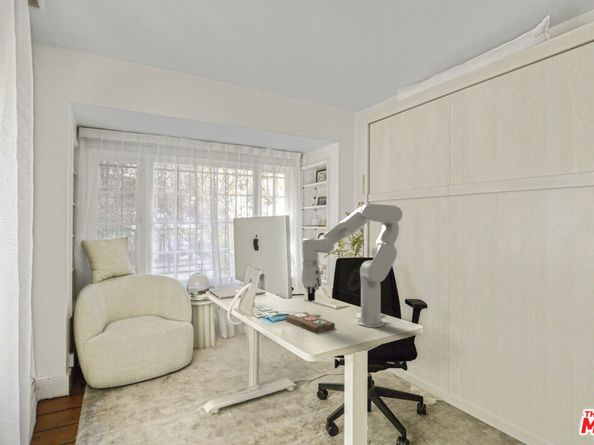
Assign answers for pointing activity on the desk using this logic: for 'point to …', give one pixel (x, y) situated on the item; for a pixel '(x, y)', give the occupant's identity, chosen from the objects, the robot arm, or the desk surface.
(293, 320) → the button board
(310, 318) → the button two dots
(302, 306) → the desk surface
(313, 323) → the button three dots
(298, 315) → the button one dot
